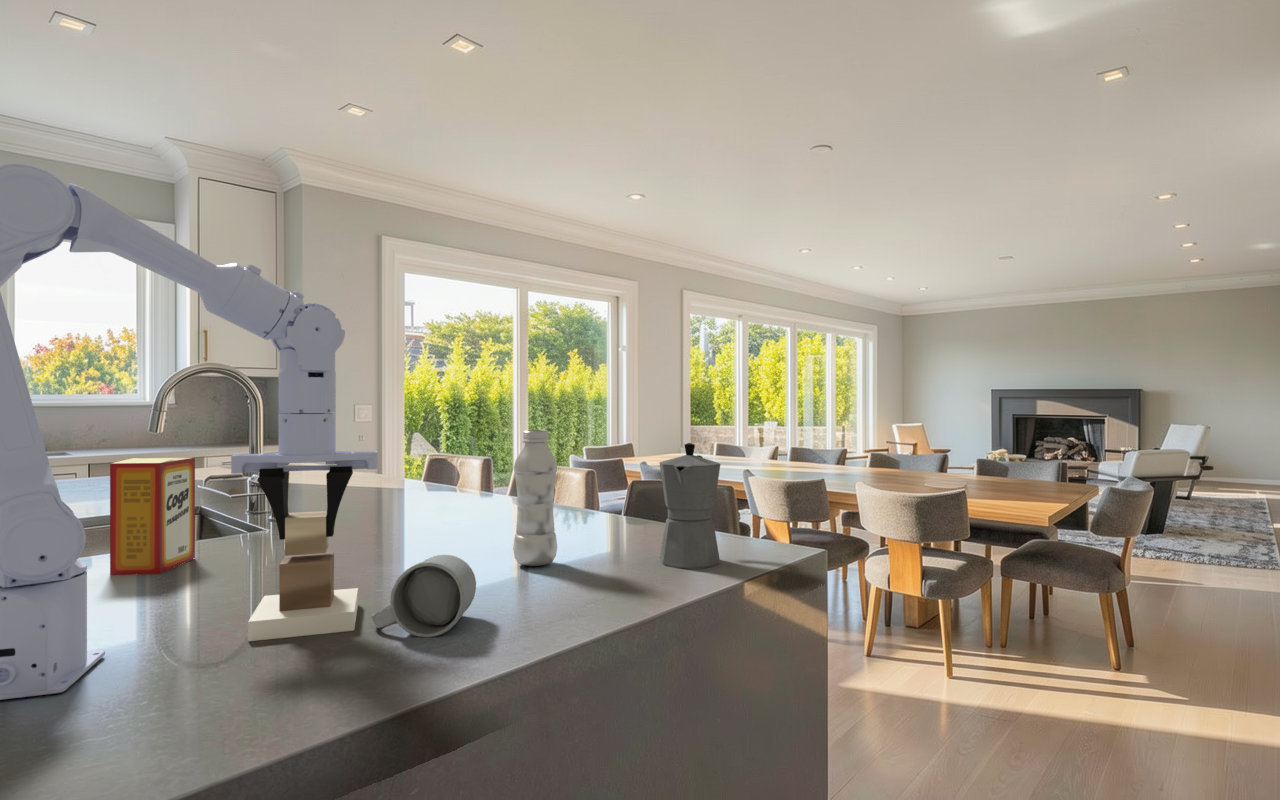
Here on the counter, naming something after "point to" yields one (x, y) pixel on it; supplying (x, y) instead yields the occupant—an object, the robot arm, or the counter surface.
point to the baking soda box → (151, 514)
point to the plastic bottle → (535, 501)
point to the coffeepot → (689, 511)
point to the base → (303, 618)
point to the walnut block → (306, 581)
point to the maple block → (305, 533)
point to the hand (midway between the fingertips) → (307, 536)
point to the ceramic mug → (430, 597)
